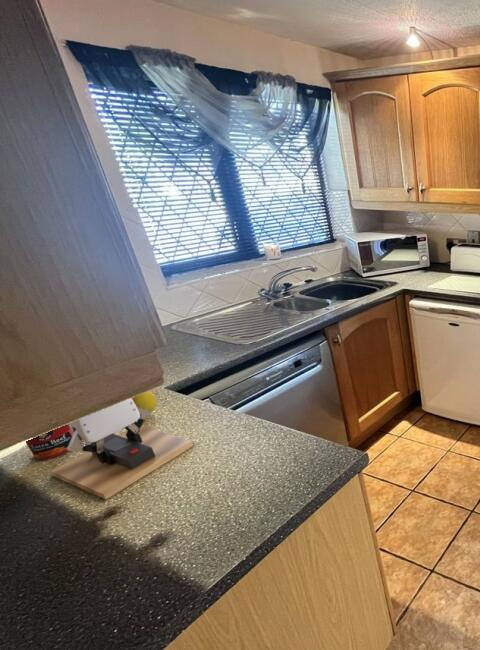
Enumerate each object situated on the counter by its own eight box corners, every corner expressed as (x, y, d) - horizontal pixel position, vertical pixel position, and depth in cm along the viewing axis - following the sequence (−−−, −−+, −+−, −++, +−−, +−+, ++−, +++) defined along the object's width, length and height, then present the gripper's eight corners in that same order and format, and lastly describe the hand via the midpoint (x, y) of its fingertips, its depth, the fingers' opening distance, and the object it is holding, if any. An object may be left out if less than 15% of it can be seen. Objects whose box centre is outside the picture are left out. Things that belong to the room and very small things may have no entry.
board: (52, 475, 86) (49, 470, 85) (142, 429, 101) (140, 424, 100) (106, 499, 79) (103, 494, 79) (193, 445, 94) (191, 441, 94)
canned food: (30, 465, 89) (7, 426, 85) (39, 447, 95) (18, 410, 91) (78, 450, 94) (58, 412, 90) (83, 433, 99) (65, 398, 95)
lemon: (161, 406, 110) (151, 382, 107) (160, 415, 106) (150, 390, 103) (135, 414, 107) (124, 389, 104) (133, 423, 103) (122, 398, 100)
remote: (92, 454, 90) (87, 445, 89) (116, 441, 94) (112, 432, 93) (131, 469, 85) (127, 460, 84) (155, 455, 89) (151, 446, 88)
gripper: (128, 367, 92) (155, 429, 98) (25, 407, 77) (65, 477, 83) (148, 372, 89) (174, 435, 96) (46, 414, 74) (85, 486, 81)
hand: (123, 454), depth 89 cm, fingers closed on remote, 4 cm apart
